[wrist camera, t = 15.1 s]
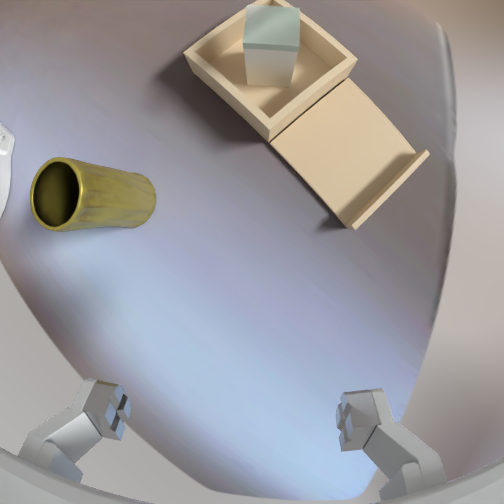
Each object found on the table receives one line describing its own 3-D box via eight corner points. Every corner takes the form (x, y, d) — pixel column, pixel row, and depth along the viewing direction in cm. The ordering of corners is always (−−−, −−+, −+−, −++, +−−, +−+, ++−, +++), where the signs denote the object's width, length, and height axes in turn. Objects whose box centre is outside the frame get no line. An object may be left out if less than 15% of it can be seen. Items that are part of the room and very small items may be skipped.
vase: (149, 233, 32) (77, 247, 18) (102, 220, 32) (19, 226, 18) (162, 179, 32) (97, 156, 17) (115, 168, 31) (35, 146, 17)
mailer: (193, 72, 30) (183, 52, 25) (270, 16, 29) (271, -8, 24) (347, 228, 32) (361, 230, 27) (417, 158, 30) (439, 150, 25)
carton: (247, 85, 29) (242, 43, 20) (250, 51, 29) (246, 4, 20) (289, 87, 29) (299, 46, 20) (291, 54, 29) (299, 8, 20)
